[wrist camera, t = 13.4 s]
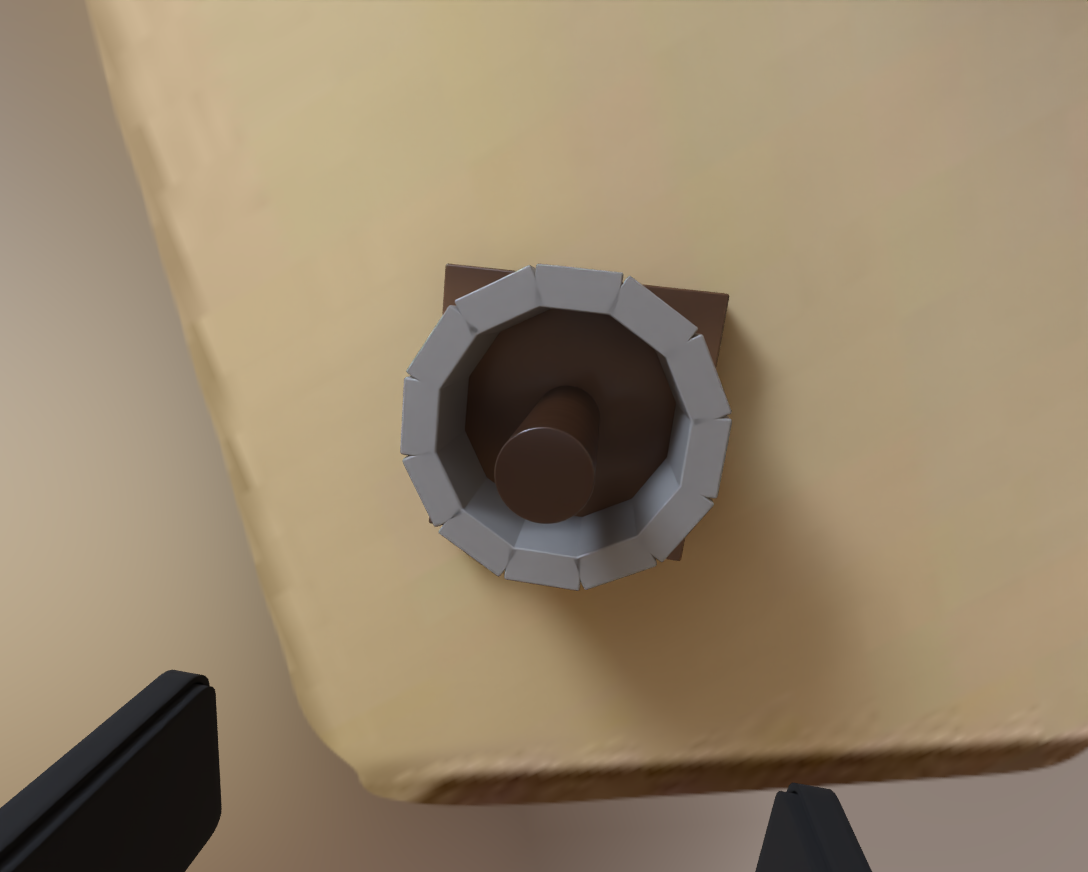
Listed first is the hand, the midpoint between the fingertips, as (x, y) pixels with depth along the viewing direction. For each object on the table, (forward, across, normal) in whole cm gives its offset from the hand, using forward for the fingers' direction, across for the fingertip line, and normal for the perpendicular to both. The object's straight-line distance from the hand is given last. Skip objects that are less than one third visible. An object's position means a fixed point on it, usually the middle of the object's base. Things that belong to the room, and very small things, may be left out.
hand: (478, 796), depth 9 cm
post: (+14, 0, -4) cm, 15 cm away
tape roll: (+13, 0, -4) cm, 13 cm away
